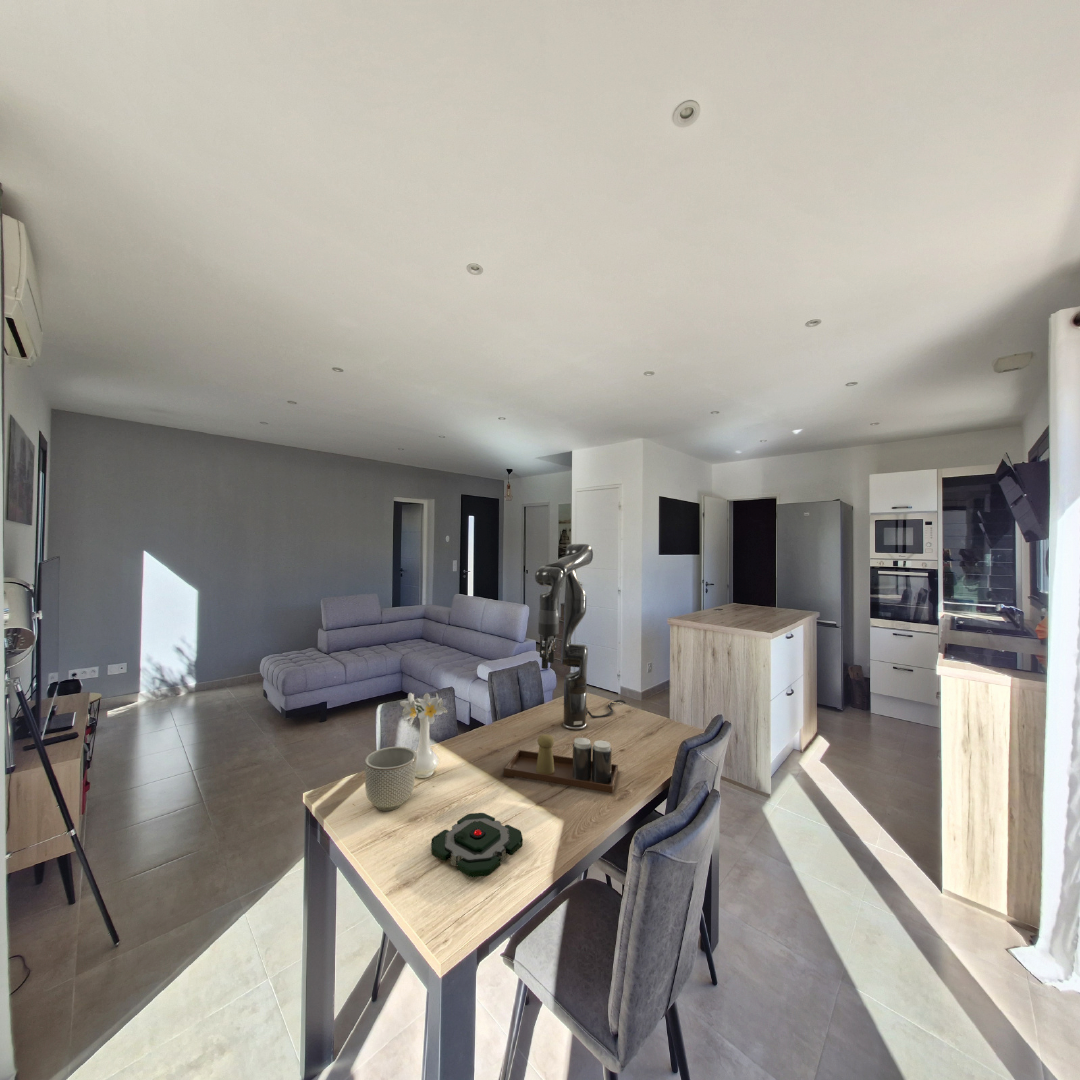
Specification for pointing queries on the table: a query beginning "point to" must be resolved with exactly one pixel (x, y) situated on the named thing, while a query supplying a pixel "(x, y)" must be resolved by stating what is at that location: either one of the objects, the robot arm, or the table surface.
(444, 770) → the table surface
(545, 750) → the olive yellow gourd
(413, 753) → the planter
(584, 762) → the cylinder
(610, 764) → the black shaker
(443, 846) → the flat green button pad
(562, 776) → the tray
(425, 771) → the flower vase
